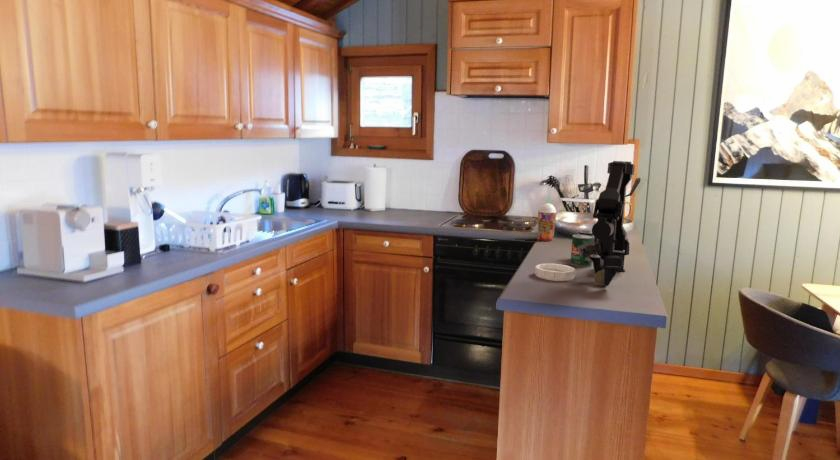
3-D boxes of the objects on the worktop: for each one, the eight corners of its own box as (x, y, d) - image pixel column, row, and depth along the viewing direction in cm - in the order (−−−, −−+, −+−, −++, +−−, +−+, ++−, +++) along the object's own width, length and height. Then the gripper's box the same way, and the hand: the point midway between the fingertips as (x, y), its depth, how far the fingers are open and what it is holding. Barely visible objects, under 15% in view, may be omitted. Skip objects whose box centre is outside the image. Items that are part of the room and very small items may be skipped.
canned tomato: (594, 264, 220) (596, 236, 219) (588, 268, 214) (591, 238, 212) (573, 261, 224) (575, 233, 222) (567, 265, 218) (569, 236, 216)
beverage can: (579, 257, 233) (582, 227, 231) (593, 259, 229) (595, 229, 227) (573, 259, 229) (576, 229, 227) (587, 261, 225) (590, 231, 223)
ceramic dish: (568, 272, 205) (568, 264, 205) (578, 281, 193) (579, 272, 192) (532, 271, 205) (532, 263, 205) (540, 280, 192) (540, 271, 192)
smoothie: (535, 241, 265) (538, 197, 262) (536, 238, 273) (539, 196, 270) (554, 242, 263) (557, 198, 260) (554, 239, 271) (557, 197, 268)
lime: (609, 287, 187) (610, 272, 186) (593, 286, 188) (595, 271, 187) (608, 284, 191) (610, 269, 190) (593, 282, 192) (595, 268, 191)
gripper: (573, 229, 196) (569, 274, 198) (590, 239, 177) (585, 288, 180) (605, 230, 196) (601, 275, 198) (625, 240, 177) (621, 289, 180)
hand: (601, 281), depth 189 cm, fingers open, 9 cm apart
